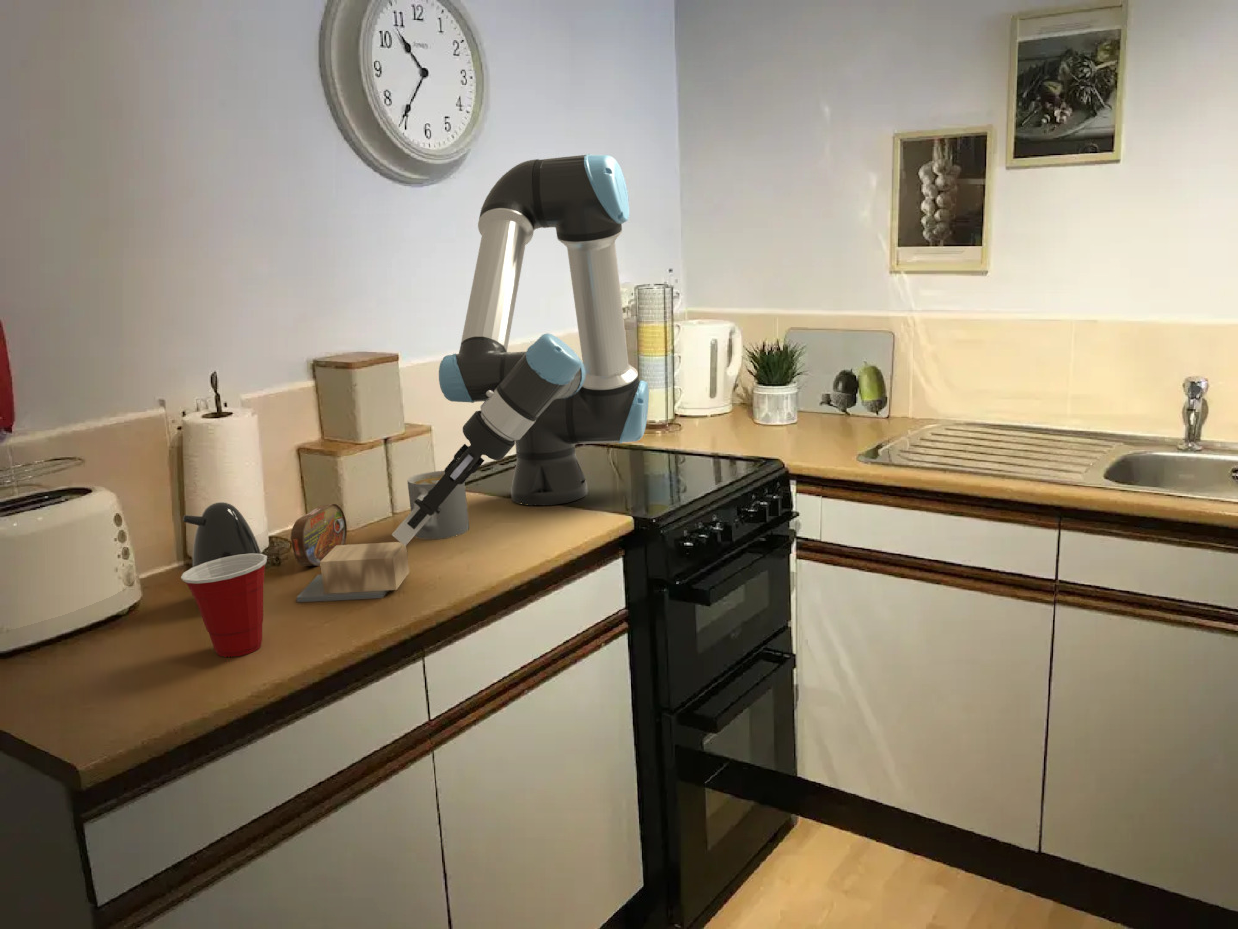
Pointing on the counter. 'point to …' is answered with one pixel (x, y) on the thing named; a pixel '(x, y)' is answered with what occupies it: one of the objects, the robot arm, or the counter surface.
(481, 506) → the counter surface
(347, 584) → the oak block
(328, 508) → the tin
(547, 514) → the counter surface
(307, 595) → the plate
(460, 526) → the coffee mug
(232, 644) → the plastic cup
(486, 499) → the counter surface
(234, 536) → the pump dispenser
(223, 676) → the counter surface
